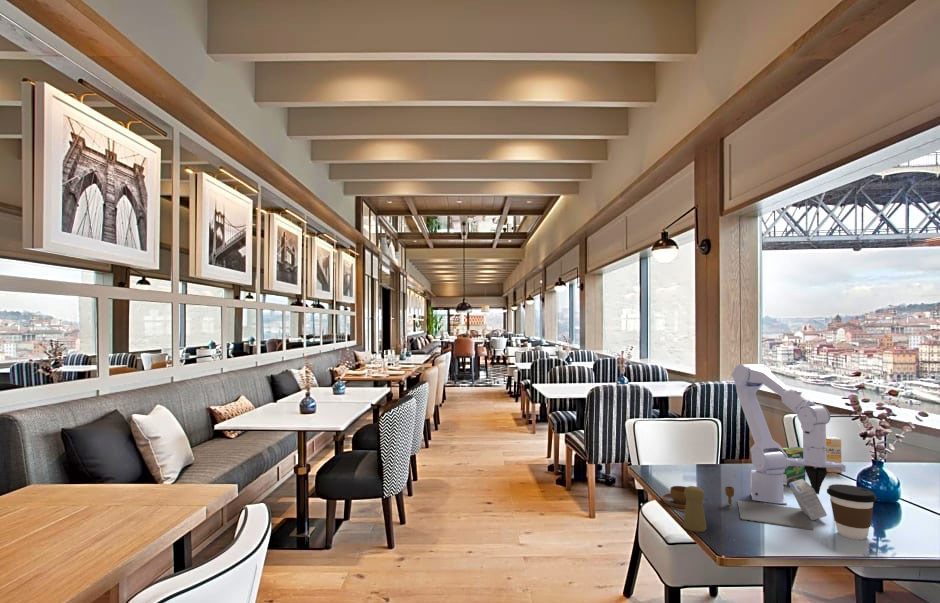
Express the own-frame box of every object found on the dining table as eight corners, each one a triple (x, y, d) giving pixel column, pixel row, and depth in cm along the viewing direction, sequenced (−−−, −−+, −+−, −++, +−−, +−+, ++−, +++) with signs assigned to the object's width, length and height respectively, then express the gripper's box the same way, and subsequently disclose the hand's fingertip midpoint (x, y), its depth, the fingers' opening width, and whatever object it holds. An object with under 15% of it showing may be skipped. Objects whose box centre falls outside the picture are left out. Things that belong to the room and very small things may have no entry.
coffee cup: (856, 527, 144) (855, 483, 144) (889, 543, 133) (887, 496, 134) (818, 527, 144) (816, 483, 144) (847, 543, 133) (846, 496, 133)
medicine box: (827, 516, 147) (814, 488, 148) (811, 521, 148) (798, 493, 148) (815, 504, 155) (802, 478, 155) (800, 509, 156) (787, 483, 156)
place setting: (669, 493, 174) (669, 475, 174) (735, 505, 162) (735, 486, 162) (655, 508, 159) (655, 489, 160) (726, 523, 148) (726, 502, 148)
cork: (705, 524, 145) (704, 485, 145) (707, 532, 139) (707, 491, 140) (682, 522, 147) (681, 482, 147) (683, 529, 141) (683, 489, 142)
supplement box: (819, 472, 198) (818, 438, 199) (812, 468, 203) (812, 435, 204) (842, 473, 197) (841, 439, 198) (835, 470, 202) (835, 436, 202)
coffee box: (786, 487, 180) (785, 449, 180) (780, 484, 182) (779, 447, 183) (806, 485, 181) (805, 448, 182) (799, 483, 184) (798, 446, 185)
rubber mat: (740, 519, 149) (740, 518, 149) (737, 501, 164) (737, 500, 164) (813, 530, 141) (813, 528, 141) (802, 510, 157) (802, 508, 157)
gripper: (788, 446, 152) (789, 493, 151) (847, 452, 146) (849, 500, 145) (784, 441, 158) (785, 486, 157) (841, 446, 152) (842, 493, 151)
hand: (815, 493), depth 152 cm, fingers closed
